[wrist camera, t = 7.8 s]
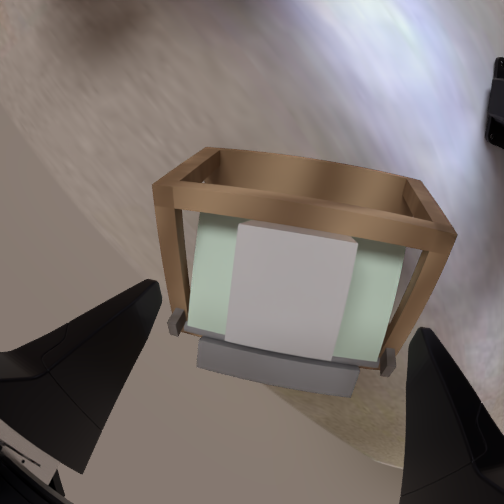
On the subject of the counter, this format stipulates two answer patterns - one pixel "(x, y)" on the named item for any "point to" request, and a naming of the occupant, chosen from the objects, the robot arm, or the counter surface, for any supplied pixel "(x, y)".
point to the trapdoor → (280, 364)
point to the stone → (289, 288)
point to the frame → (305, 218)
